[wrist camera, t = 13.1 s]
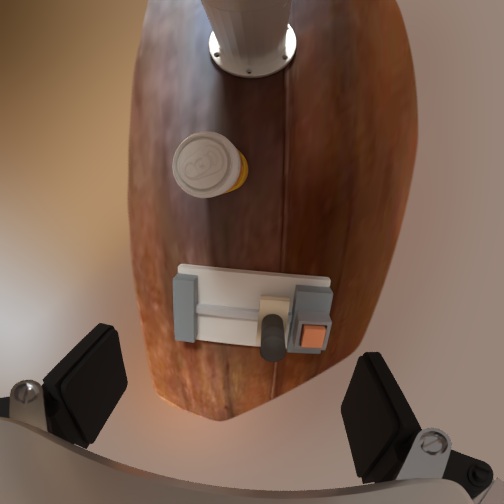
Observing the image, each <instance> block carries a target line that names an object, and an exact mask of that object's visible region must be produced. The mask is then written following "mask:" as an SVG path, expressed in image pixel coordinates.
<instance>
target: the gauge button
mask: <svg viewBox="0 0 504 504" xmlns="http://www.w3.org/2000/svg"><path fill="white" fill-rule="evenodd" d="M325 333H326V329H325V326H324V325H309V324H302V329H301V334H300V342H301V347H312V348H322V345H323V341H324V337H325Z"/></svg>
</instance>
